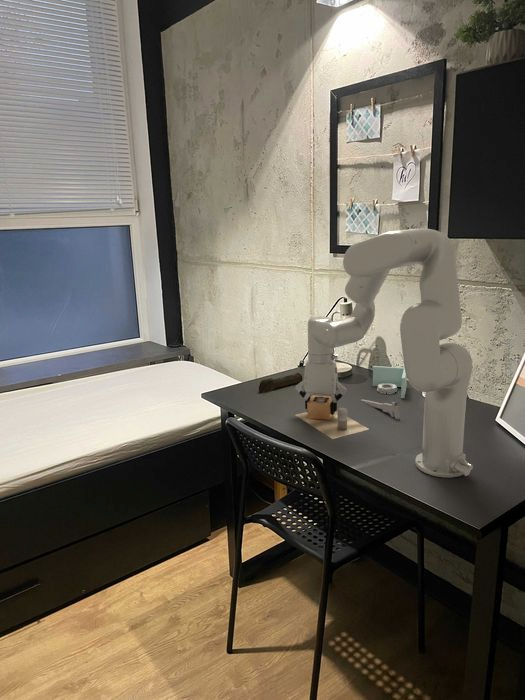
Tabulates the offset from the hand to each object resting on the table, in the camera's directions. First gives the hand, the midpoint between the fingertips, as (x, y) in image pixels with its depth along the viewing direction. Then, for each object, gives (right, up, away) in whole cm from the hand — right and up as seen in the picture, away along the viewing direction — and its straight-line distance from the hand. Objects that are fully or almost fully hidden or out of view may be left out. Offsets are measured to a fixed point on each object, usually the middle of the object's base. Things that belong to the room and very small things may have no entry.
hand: (321, 411), depth 161 cm
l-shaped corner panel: (+27, +4, +23) cm, 35 cm away
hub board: (+3, -3, -4) cm, 6 cm away
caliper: (+19, -1, +5) cm, 20 cm away
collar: (0, -1, 0) cm, 1 cm away
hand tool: (-11, +5, +31) cm, 34 cm away
